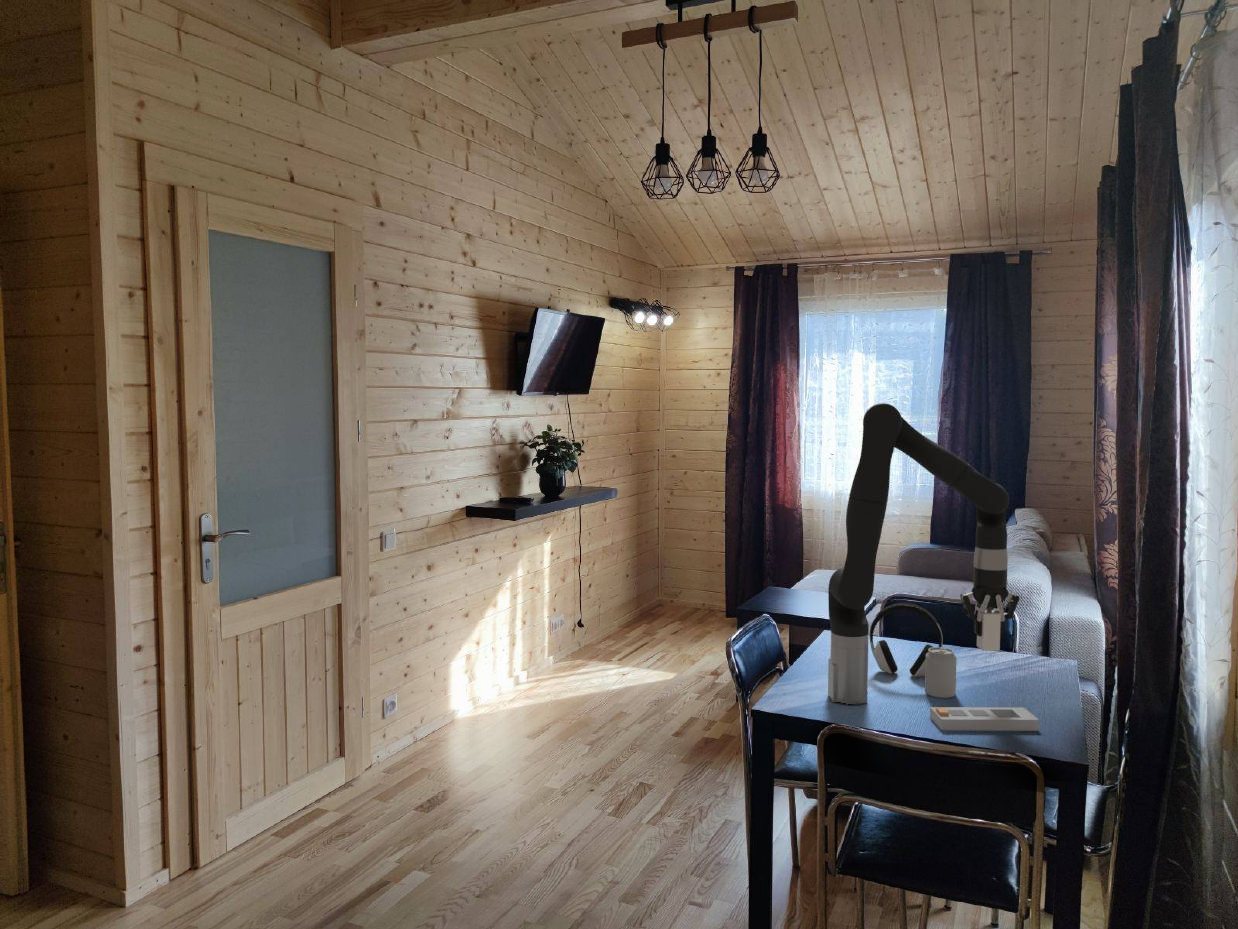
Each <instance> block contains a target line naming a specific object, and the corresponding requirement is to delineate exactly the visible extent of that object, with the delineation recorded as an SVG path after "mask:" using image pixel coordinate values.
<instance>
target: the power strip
mask: <svg viewBox="0 0 1238 929" xmlns="http://www.w3.org/2000/svg"><path fill="white" fill-rule="evenodd" d="M929 719H930V720H931V721H932V722H933V723H934V724H935V726H936V727H937V728H938V729H939V730H940V731H986V732H987V731H991V732H992V731H994V732H995V731H997V732H998V731H1002V732H1003V731H1005V732H1007V731H1008V732H1009V731H1010V732H1011V731H1015V732H1017V731H1018V732H1019V731H1020V732H1021V731H1023V732H1024V731H1027V732H1028V731H1032V732H1033V731H1034V732H1038V731H1039V728H1040V727H1039V726H1040V719H1039V718H1037V717H1036V716H1035V715H1033V714H1032V713H1031V712H1030V711H1029V710H1027V708H1025V707H1010V706H1009V707H994V706H993V707H991V706H989V707H985V706H984V707H983V706H981V707H978V706H977V707H975V706H973V707H971V706H967V707H966V706H965V707H964V706H962V707H961V706H959V707H957V706H954V707H953V706H951V707H950V706H949V707H947V706H946V707H945V706H944V707H943V706H941V707H939V706H938V707H937V706H933V707H931V706H930V707H929Z"/></svg>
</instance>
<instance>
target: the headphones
mask: <svg viewBox="0 0 1238 929" xmlns="http://www.w3.org/2000/svg"><path fill="white" fill-rule="evenodd" d="M903 611H904V612H912V613H915V614H917V615H919V616H921V617H923V618H924V619H926V620H927V621H928V622H929V623H930V624H931V625H932V627H934V629H935V631H936V632H935V633H936V634H937V637H938V647H943V642H944V641H943V639H944V638H943V633H942V628H941V627H940V624H939V623H938V620H937V619H936V617H935V616H934V615H933V614H932V613H930V612H929V611H928V610H927V609H926V608H924V607H921V606H920V605H918V604H915V603H909V602H899V603H892V604H891V605H888V606H886V607H885V608H882V609H880V611H878V613H876V615H875V616H874V617H875V618H874V619H873V620H872V622H871V624H870V626H869V628H870V629H869V633H868V634H869V635H868V639H869V643H870V650H871V652H872V655H873V657H874V659H875V662H876V664H877V666H878V668H879V670H881V672H885V673H889V674H890V675H893V674H894V675H895V673H897V672H898V670H899V669H898V665H897V662H896V660H895V658H894V655H893V654H892V651H891V649H890V646H889V644H888V642H887V640H885V639H881V640H878V641H877V642H876V645H875V644H874V631H875V628H876V627H877V625H878V623H879V622H880V621H881V620H882V618H884V617H885V616H888V615H890V614H892V613H895V612H903ZM932 647H934V645H931V644H928V643H927V644H925V646H924V647H923V648H922V651H921V652H920V654H919V655H918V657H917V659H916V660H915V661H914V663H913V664H912V665H911V666H910V669H909V673H910V674H911V676H913V677H914V678H918V677H925V660H926V654H927V653H928V652H929V651H928V649H929V648H932Z"/></svg>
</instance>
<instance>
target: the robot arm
mask: <svg viewBox="0 0 1238 929" xmlns="http://www.w3.org/2000/svg"><path fill="white" fill-rule="evenodd" d="M862 418H863V419H862V441H861V450H860V457H859V460H858V461H859V462H858V465H857V467H856V471H855V474H854V477H853V481H852V484H851V486H850V487H851V488H850V491H849V495H848V496H849V497H848V501H847V507H846V512H845V513H846V514H845V527H846V541H847V542H846V543H847V546H846V547H847V552H846V558H845V562H844V566H843V567H840V568H838V569H836V571H834V572H833V573H832V575H831V576H830V578H829V583H828V590H827V592H828V619H829V623H830V658H828V663H827V667H828V670H827V678H828V679H827V695H829V696H830V697H829V696H828V697H829V699H830V698H831V699H832V700H831V699H830V700H831V702H832V701H833V702H841V703H846V704H845V705H848V704H855V705H854V706H857V705H863V704H866V703H867V702H868V695H869V694H868V693H869V691H868V688H869V687H868V685H869V683H868V682H869V681H868V680H869V679H868V678H869V674H868V673H869V634H870V629H869V628H870V626H869V621H868V618H867V616H866V611H865V610H866V609H865V608H866V607H867V605H868V604H869V603H870V601H871V600H872V597H873V594H874V590H875V589H874V587H875V573H876V561H877V555H878V554H877V553H878V550H879V545H880V540H881V537H882V536H881V535H882V531H883V525H884V522H885V521H884V520H885V516H886V513H887V507H888V500H889V493H890V481H891V479H890V476H891V464H892V458H893V454H894V451H895V449H896V450H899V451H900V452H902V453H903V454H905V455H906V456H908V457H910V459H912V460H914V461H915V462H916V463H918V465H920V466H921V467H922V468H924V470H926V471H927V472H928V473H930V474H931V475H932V476H934V477H935V478H937V479H938V480H939V481H941V482H942V483H944V484H945V485H947V486H948V487H950V488H951V489H952V490H954V491H956V492H957V493H959V494H961V495H962V496H963V497H964V498H966V499H967V500H968V501H970V502H971V503H972V504H974V505H975V509H976V510H975V511H976V530H975V548H974V553H973V554H974V555H973V561H972V562H973V582H972V583H973V587H972V589H971V590H970V591H971V592H967V593H964V592H963V593H961V594H960V596H959V597H960V599H961V600H960V601H961V603H962V606H963V610H964V612H965V615H966V617H968V618H969V619H972V620H973V633H974V634H976V637H977V636H982V618H983V613H985V611H986V610H987V608H990V607H992V610H994V611H996V612H998V613H1000V614H1001V622H1000V637H1002V635H1003V634H1004V630H1005V629H1004V628H1005V627H1004V626H1005V624H1004V623H1005V621H1006V620H1011V619H1013V616H1014V613H1015V612H1016V609H1017V606H1018V603H1019V601H1020V596H1019V595H1017V594H1015V593H1010V592H1009V591H1008V588H1007V587H1008V565H1009V564H1008V561H1009V560H1008V529H1007V528H1008V527H1007V524H1006V521H1007V520H1006V518H1007V508H1008V507H1009V504H1010V496H1009V493H1008V492H1007V490H1006V489H1005V488H1004V487H1003V486H1002V485H1001V484H999V483H997V482H994V481H992V480H991V479H989V478H988V477H986V476H984V475H983V474H981V473H980V472H978V470H977V468H974V466H972V465H971V464H969V463H968V462H967V461H966V460H964V459H963V458H961V457H959V456H958V455H957V454H955V453H954V452H952V451H950V450H949V449H946V448H945V447H943V446H942V445H940V444H938V443H936V442H935V441H934V440H932V439H930V438H928V437H926V436H925V435H924V434H922V433H921V432H920V431H918V430H916V429H915V427H913V426H912V425H911V424H910V423H909V422H908V421H907V420H906V419H905V418H904V417H903V416H902V414H901V412H900V411H899V409H898V408H897V407H895V406H894V405H892V404H890V403H887V402H886V403H885V402H882V403H877V404H874V405H871V406H870V407H869V408H867V410H866V412H865V413H864V415H863V417H862ZM973 598H974V600H975V601H976V603H975V606H974V609H975V610H974V609H973V607H972V606H973V605H972V604H971V603H972V601H973ZM1006 599H1007V600H1006ZM1004 601H1007V603H1006V606H1005V608H1004V607H1003V603H1004ZM833 702H832V703H833ZM841 703H840V704H841Z"/></svg>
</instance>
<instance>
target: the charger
mask: <svg viewBox="0 0 1238 929" xmlns="http://www.w3.org/2000/svg"><path fill="white" fill-rule="evenodd" d="M1000 622H1001V614H1000V613H998V612H996V611H994V609H993V608H992V607H990V608H986V611H985V613H983V618H982V636H977V635H976V647H977V648H979V649H980V650H982V651H983V652H984V651H985V652H993V651H995V652H1000V651H1001V650H1000V649H1001V636H1000Z"/></svg>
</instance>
